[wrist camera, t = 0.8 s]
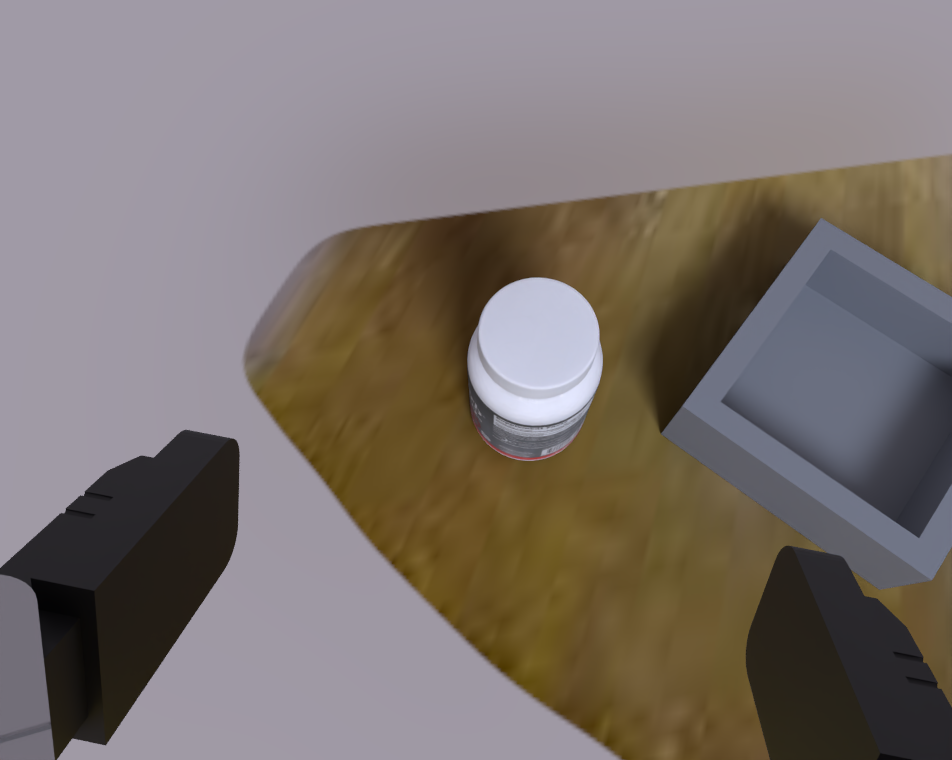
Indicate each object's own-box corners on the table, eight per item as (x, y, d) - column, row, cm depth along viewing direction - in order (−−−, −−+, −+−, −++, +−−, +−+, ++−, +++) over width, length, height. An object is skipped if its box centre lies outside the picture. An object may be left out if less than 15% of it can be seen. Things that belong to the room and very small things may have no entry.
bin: (997, 394, 39) (1059, 362, 35) (879, 589, 36) (931, 580, 32) (787, 263, 41) (821, 217, 37) (660, 434, 38) (682, 406, 34)
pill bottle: (476, 350, 40) (472, 256, 31) (587, 359, 40) (617, 268, 30) (464, 458, 38) (457, 393, 29) (580, 469, 38) (611, 407, 29)
